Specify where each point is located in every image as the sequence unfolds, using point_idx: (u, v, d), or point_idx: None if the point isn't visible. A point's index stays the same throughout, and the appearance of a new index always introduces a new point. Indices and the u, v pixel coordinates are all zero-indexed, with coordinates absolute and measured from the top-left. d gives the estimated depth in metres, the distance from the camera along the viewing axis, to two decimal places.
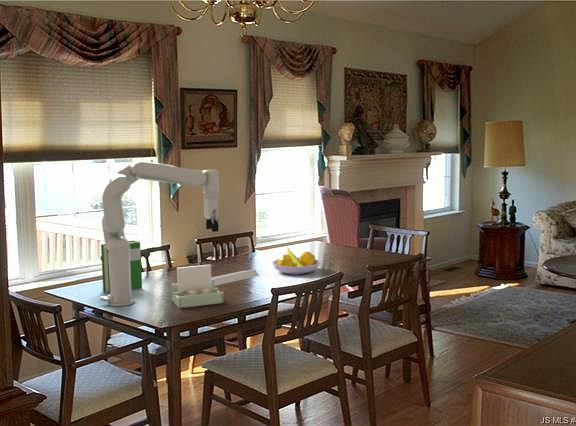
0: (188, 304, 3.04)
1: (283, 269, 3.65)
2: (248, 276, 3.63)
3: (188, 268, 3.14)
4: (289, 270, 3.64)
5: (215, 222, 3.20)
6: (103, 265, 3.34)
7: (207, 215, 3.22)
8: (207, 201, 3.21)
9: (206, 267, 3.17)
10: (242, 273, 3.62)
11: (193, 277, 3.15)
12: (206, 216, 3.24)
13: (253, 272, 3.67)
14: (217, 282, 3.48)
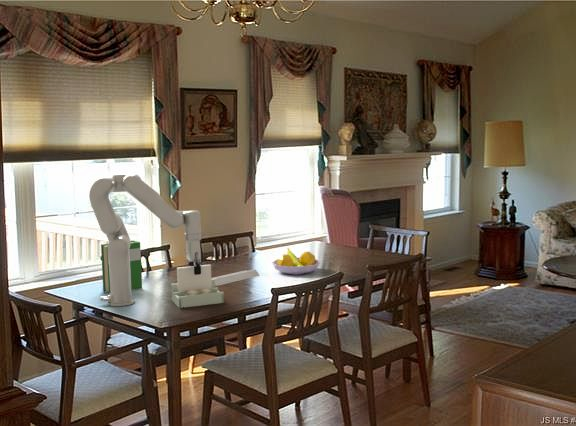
0: (188, 304, 3.04)
1: (283, 269, 3.65)
2: (249, 276, 3.63)
3: (188, 268, 3.14)
4: (289, 270, 3.64)
5: (197, 265, 3.10)
6: (103, 265, 3.34)
7: (189, 257, 3.12)
8: (189, 243, 3.11)
9: (206, 267, 3.17)
10: (243, 273, 3.62)
11: (193, 277, 3.15)
12: (188, 258, 3.14)
13: (254, 272, 3.67)
14: (219, 282, 3.48)
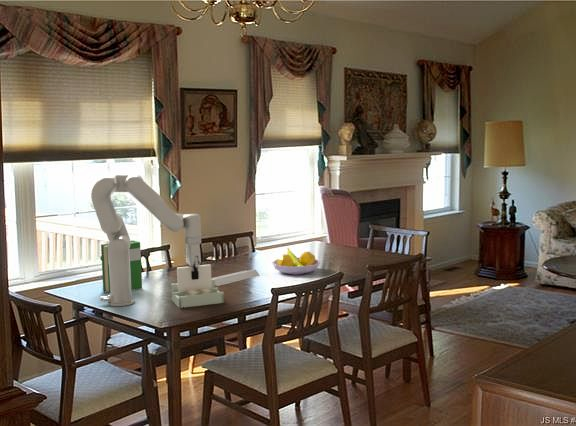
0: (188, 304, 3.04)
1: (283, 269, 3.65)
2: (249, 276, 3.63)
3: (188, 268, 3.14)
4: (289, 270, 3.64)
5: (195, 270, 3.13)
6: (103, 265, 3.34)
7: (189, 261, 3.12)
8: (189, 247, 3.11)
9: (206, 267, 3.17)
10: (243, 273, 3.62)
11: None
12: (188, 262, 3.14)
13: (254, 272, 3.67)
14: (219, 282, 3.47)
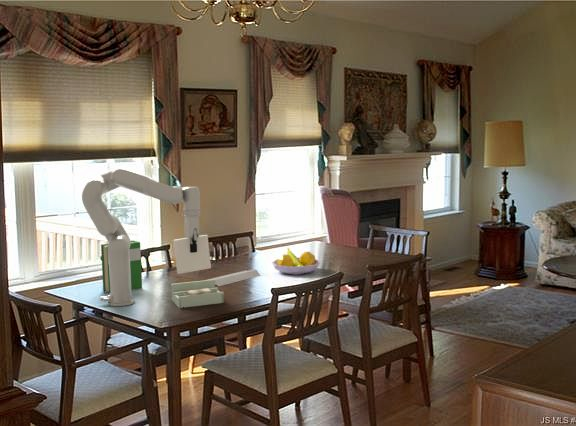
0: (188, 304, 3.04)
1: (283, 269, 3.65)
2: (250, 276, 3.62)
3: (185, 239, 3.12)
4: (289, 270, 3.64)
5: (193, 243, 3.12)
6: (103, 265, 3.34)
7: (187, 234, 3.11)
8: (187, 219, 3.10)
9: (203, 237, 3.15)
10: (244, 273, 3.62)
11: None
12: (186, 235, 3.12)
13: (254, 272, 3.67)
14: (221, 282, 3.47)
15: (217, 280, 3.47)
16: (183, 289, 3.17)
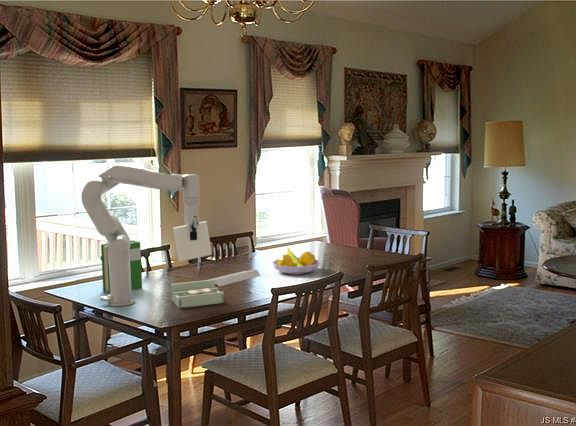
0: (188, 304, 3.04)
1: (283, 269, 3.65)
2: (250, 276, 3.62)
3: (184, 227, 3.11)
4: (289, 270, 3.64)
5: (193, 230, 3.11)
6: (103, 265, 3.34)
7: (187, 221, 3.10)
8: (187, 207, 3.09)
9: (202, 224, 3.14)
10: (244, 273, 3.62)
11: None
12: (186, 222, 3.12)
13: (255, 272, 3.67)
14: (221, 282, 3.47)
15: (218, 280, 3.46)
16: (183, 289, 3.17)
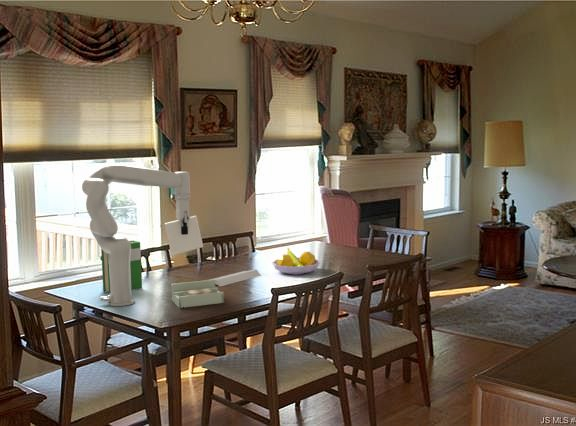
0: (188, 304, 3.04)
1: (283, 269, 3.65)
2: (251, 276, 3.62)
3: (175, 222, 3.27)
4: (289, 270, 3.64)
5: (184, 225, 3.27)
6: (103, 265, 3.34)
7: (178, 216, 3.26)
8: (178, 203, 3.25)
9: (192, 218, 3.30)
10: (245, 273, 3.62)
11: None
12: (177, 217, 3.27)
13: (255, 272, 3.67)
14: (222, 282, 3.47)
15: (218, 280, 3.46)
16: (183, 289, 3.17)
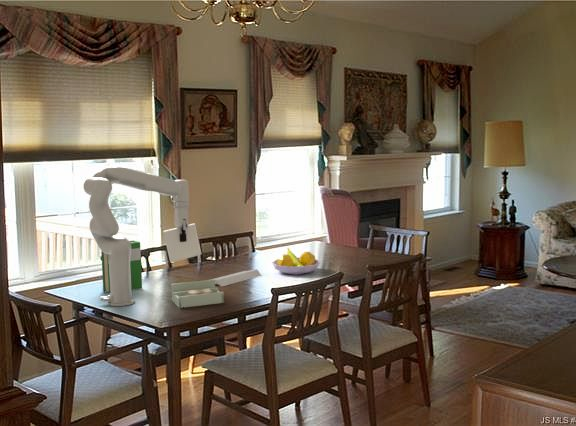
0: (188, 304, 3.04)
1: (283, 269, 3.65)
2: (251, 276, 3.62)
3: (174, 230, 3.30)
4: (289, 270, 3.64)
5: (183, 233, 3.30)
6: (103, 265, 3.34)
7: (177, 224, 3.29)
8: (177, 210, 3.28)
9: (191, 226, 3.33)
10: (245, 273, 3.62)
11: None
12: (176, 225, 3.31)
13: (255, 272, 3.67)
14: (223, 282, 3.46)
15: (220, 280, 3.46)
16: (183, 289, 3.17)
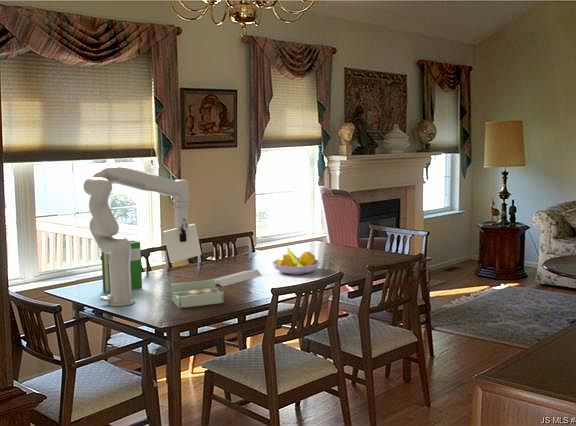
0: (188, 304, 3.04)
1: (283, 269, 3.65)
2: (252, 276, 3.62)
3: (174, 230, 3.30)
4: (289, 270, 3.64)
5: (183, 233, 3.30)
6: (103, 265, 3.34)
7: (177, 224, 3.29)
8: (177, 210, 3.28)
9: (191, 226, 3.33)
10: (246, 273, 3.62)
11: None
12: (176, 225, 3.31)
13: (256, 272, 3.67)
14: (224, 282, 3.46)
15: (221, 280, 3.46)
16: (183, 289, 3.17)
